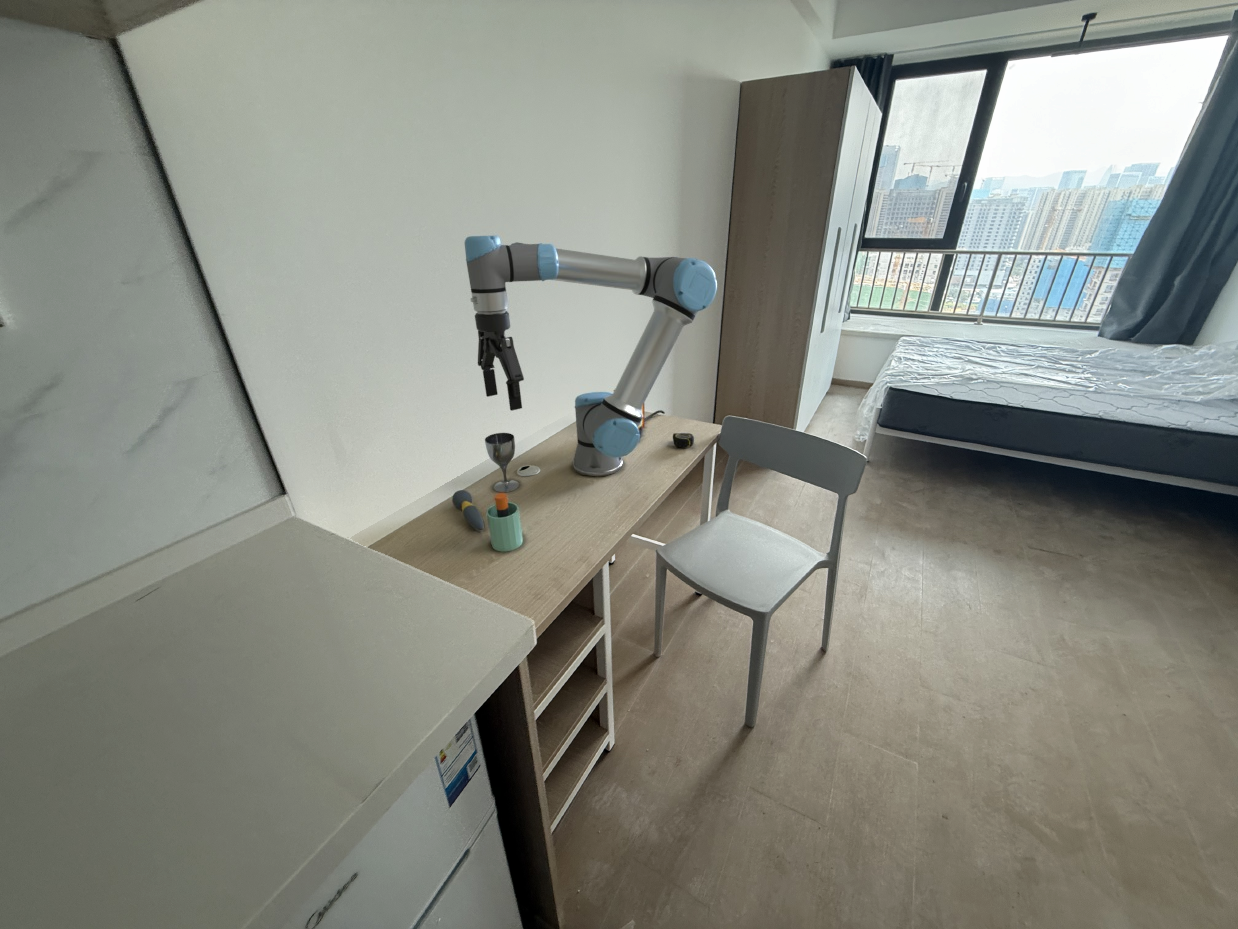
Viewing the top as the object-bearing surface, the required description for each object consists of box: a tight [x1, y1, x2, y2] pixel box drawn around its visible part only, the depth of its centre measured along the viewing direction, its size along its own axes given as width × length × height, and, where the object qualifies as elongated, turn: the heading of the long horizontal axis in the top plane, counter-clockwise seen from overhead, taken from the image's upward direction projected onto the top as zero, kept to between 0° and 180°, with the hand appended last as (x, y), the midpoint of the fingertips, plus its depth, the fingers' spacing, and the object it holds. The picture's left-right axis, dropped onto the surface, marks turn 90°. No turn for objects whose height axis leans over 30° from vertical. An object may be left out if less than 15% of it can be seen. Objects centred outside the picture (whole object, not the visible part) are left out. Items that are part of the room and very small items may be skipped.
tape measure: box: [672, 432, 695, 449], centre depth 161 cm, size 7×7×4 cm
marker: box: [494, 492, 509, 518], centre depth 111 cm, size 3×3×12 cm
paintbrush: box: [451, 489, 485, 532], centre depth 124 cm, size 20×5×5 cm, turn 38°
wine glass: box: [484, 432, 520, 493], centre depth 136 cm, size 8×8×15 cm
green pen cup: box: [485, 501, 524, 552], centre depth 112 cm, size 7×7×9 cm
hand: (503, 402), depth 118 cm, fingers open, 13 cm apart
